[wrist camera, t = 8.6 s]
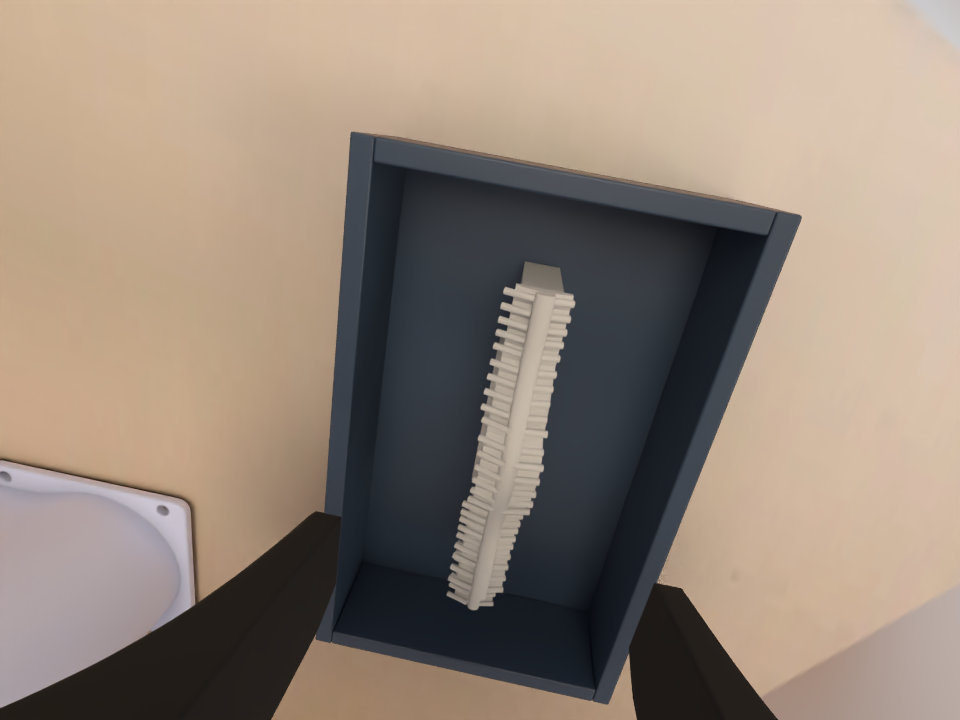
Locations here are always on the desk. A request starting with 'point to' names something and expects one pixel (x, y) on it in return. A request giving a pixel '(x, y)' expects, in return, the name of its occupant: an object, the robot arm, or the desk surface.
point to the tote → (573, 406)
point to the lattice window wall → (511, 433)
